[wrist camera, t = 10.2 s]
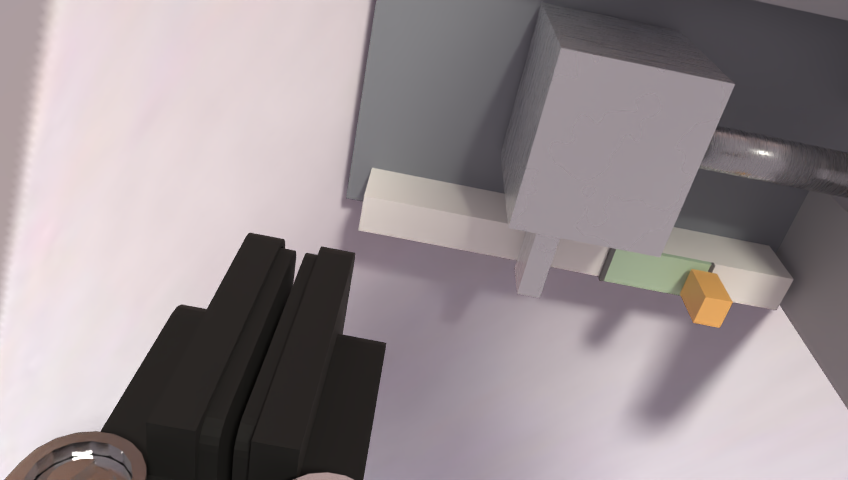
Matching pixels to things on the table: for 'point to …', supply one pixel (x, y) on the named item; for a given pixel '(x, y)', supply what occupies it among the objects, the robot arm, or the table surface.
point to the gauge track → (710, 191)
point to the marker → (705, 298)
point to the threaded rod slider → (626, 139)
